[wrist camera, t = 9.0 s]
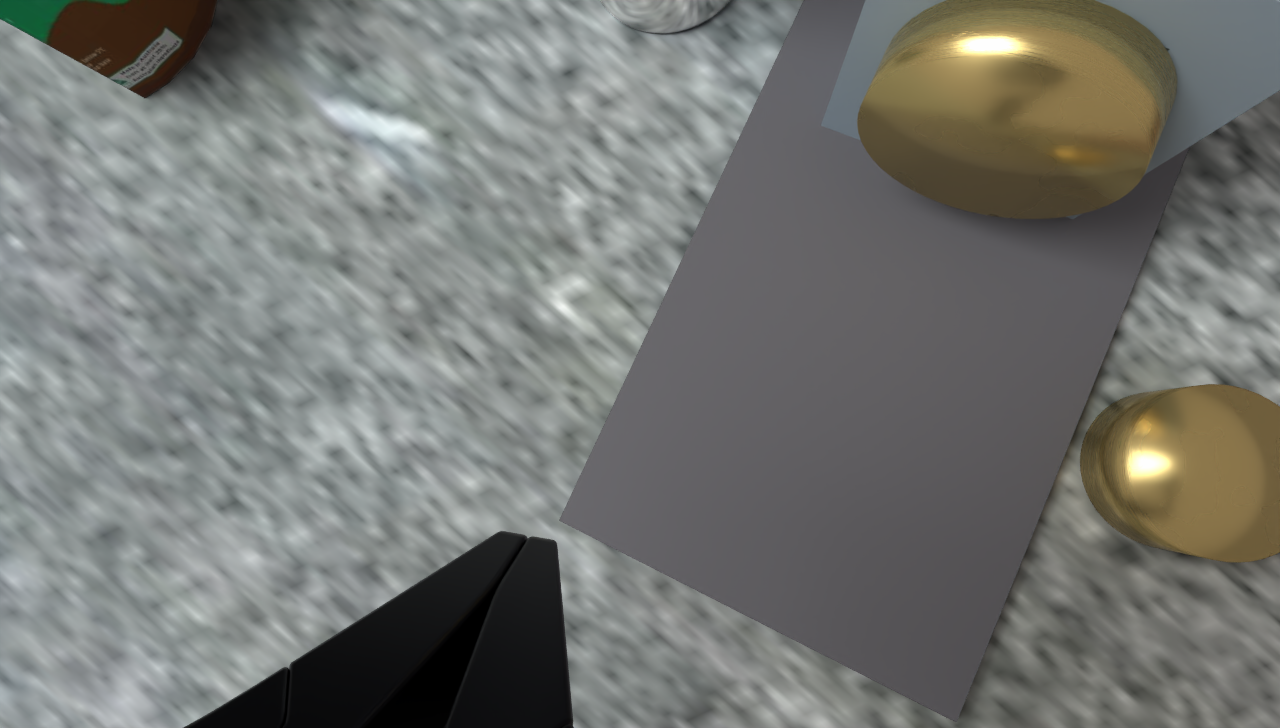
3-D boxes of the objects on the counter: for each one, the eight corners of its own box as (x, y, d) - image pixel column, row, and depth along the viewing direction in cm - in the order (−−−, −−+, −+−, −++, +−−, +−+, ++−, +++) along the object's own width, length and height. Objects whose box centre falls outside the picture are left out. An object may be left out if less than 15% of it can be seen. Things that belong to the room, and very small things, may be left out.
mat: (951, 717, 20) (956, 722, 19) (561, 519, 22) (558, 520, 21) (1218, 61, 22) (1227, 54, 21) (835, -63, 24) (837, -72, 23)
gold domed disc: (1273, 522, 20) (1354, 532, 17) (1115, 567, 20) (1173, 584, 17) (1203, 373, 20) (1272, 362, 18) (1053, 418, 21) (1100, 414, 18)
